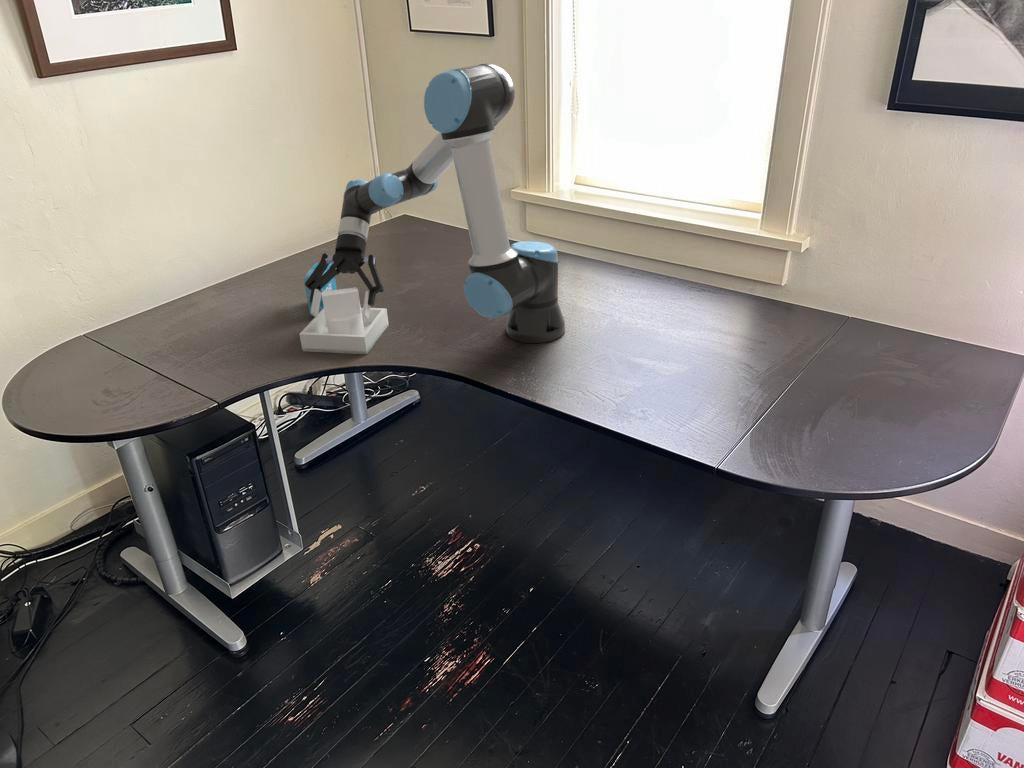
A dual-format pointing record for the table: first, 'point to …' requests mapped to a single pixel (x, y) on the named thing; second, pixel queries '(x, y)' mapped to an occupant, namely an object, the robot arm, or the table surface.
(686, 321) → the table surface
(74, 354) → the table surface
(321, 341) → the bin
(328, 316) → the base with upright slab
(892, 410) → the table surface
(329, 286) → the data package
